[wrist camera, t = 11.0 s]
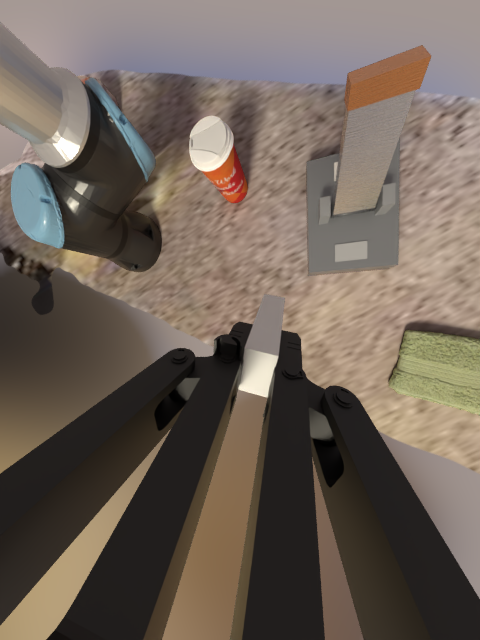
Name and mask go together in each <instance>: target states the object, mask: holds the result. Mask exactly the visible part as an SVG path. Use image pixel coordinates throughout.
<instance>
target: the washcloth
mask: <svg viewBox="0 0 480 640" xmlns="http://www.w3.org/2000/svg"><path fill="white" fill-rule="evenodd" d="M399 354H400V357H399V360H398V364H397V367H396V368H394V370H393V375H392V377H391V378H390V381H389V387H391V388H393V389H394V390H395V391H396V392H397V393H398V394H405V395H407V396H411V397H414V398H421V399H422V400H428V401H431V402H433V403H434V402H435V403H439V404H443V405H446V406H450V407H455V408H458V409H460V410H461V409H463V410H466V411H468V412H470V413H473V414H477V415H479V416H480V339H475V338H470V337H465V336H456V335H453V334H452V335H451V334H449V335H448V334H443V333H434V332H422V331H412V330H409V329H408V330H406V331H405V333H404V337H403V342H402V345H401V349H400V351H399Z"/></svg>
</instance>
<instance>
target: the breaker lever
mask: <svg viewBox="0 0 480 640" xmlns="http://www.w3.org/2000/svg"><path fill="white" fill-rule="evenodd" d="M430 59H431V55H430V54H429V53H428V52H427V50H426V49H425V48H424V47H423V45H421V46H419V47H416V48H413V49H411V50H408V51H406V52H403V53H400V54H397V55H395V56H392V57H389V58H387V59H384V60H381V61H379V62H377V63H373V64H371V65H368V66H365V67H363V68H360V69H357V70H355V71H352V72H349V73H348V75H347V83H346V91H345V98H344V100H345V104H346V108H345V115H344V123H343V130H342V137H341V145H340V152H339V159H338V166H337V174H336V181H335V188H334V196H333V202H332V203H331V218H335V217H341V216H347V215H353V214H359V213H365V212H370V211H375V209H376V207H377V203H378V197H379V194H380V192H381V189H382V186H383V183H384V180H385V177H386V174H387V171H388V169H389V166H390V163H391V160H392V157H393V154H394V151H395V148H396V145H397V143H398V140H399V137H400V134H401V131H402V128H403V125H404V122H405V120H406V117H407V114H408V111H409V108H410V105H411V102H412V99H413V97H414V94H415V91H416V90H417V89H419V88H420V86H421V84H422V81H423V78H424V75H425V72H426V70H427V66H428V64H429V61H430Z"/></svg>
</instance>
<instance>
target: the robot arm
mask: <svg viewBox="0 0 480 640" xmlns="http://www.w3.org/2000/svg"><path fill="white" fill-rule="evenodd" d="M0 124H1V125H3V126H5V127H6V128H8V129H10V130H12V131H13V132H15V133H16V134H18V135H20V136H22V137H23V138H25V139H27V140H28V141H29V142H30V144H31V146H32V148H33V149H34V151H35V153H36V154H37V156H38V157H39V158H40V159H41V160H42V161H43V162H45V164H44V166H43V167H42V168H39V166H37V165H35V164H30V163H22V164H21V165H19V166H17V168H16V169H15V171H14V174H13V177H12V182H11V201H12V207H13V211H14V215H15V217H16V220H17V222H18V224H19V226H20V227H21V229H22V230H23V231H24V233H25V234H26V235H27V236H29V237H30V238H32V239H33V240H35V241H38V242H41V243H45V244H48V245H51V246H54V247H56V248H63V249H67V250H71V251H76V252H80V253H85V254H89V255H94V256H98V257H102V258H107V259H109V260H110V261H112V262H114V263H115V264H117V265H119V266H120V267H122V268H124V269H126V270H129V271H134V272H143V271H146V270H148V269H149V268H151V267H152V266H153V265H154V263H155V262H156V261H157V259H158V256H159V254H160V250H161V236H160V232H159V229H158V227H157V225H156V224H155V223H154V221H153V220H151V219H150V218H148V217H147V216H145V215H143V214H141V213H138V212H132V211H126V208H127V207H128V206H129V204H130V203H131V202H132V200H133V199H134V198H135V196H136V195H137V194H138V192H139V191H140V190H141V188H142V187H143V186H144V184H145V183H146V182H148V178H149V176H150V174H151V173H152V171H153V170H154V168H155V164H156V160H155V156H154V154H153V152H152V151H151V149H150V148H149V147H148V145H147V144H146V143H145V141H144V140H143V139H142V137H141V136H140V135H139V134H138V132H137V131H136V130H135V128H134V127H133V126H132V125H131V123H130V122H129V121H128V120H127V118H126V117H125V116H124V114H123V113H122V112H121V111H120V109H119V108H118V106H117V105H116V104H115V103H114V101H113V100H112V99H111V98H110V96H109V95H108V94H107V93H106V91H105V90H104V89H103V88H102V86H101V85H100V84H99V83H98V81H97V80H96V79H94V78H89V79H88V80H87V81H86V80H85V84H84V83H83V82H82V81H81V80H80V79H79V78H78V77H77V76H76V75H75V74H73V73H72V72H71V71H69V70H68V69H65V68H49V67H48V66H47V65H46V64H45V63H44V62H43V61H42V60H41V59H40V58H38V57H37V56H36V55H35V54H34V53H33V52H32V51H31V50H30V49H29V48H28V47H27V46H26V45H25V44H23V43H22V42H21V41H20V40H19V39H18V38H17V37H16V36H15V35H14V34H13V33H12V32H11V31H9V30H8V29H7V28H6V27H5V26H4V25H3V24H2V23H1V22H0ZM284 302H285V298H283V297H278V296H273V295H267V294H264V296H263V299H262V302H261V305H260V307H259V310H258V313H257V315H256V318H255V321H254V324H248V323H243V322H238V323H236V324H235V325H234V326H233V328H232V330H231V331H230V333H229V334H226V335H221V336H218V337H217V338H216V339H215V340H214V355H213V356H209V357H195V355H194V353H193V352H192V351H191V350H189V349H186V348H178V349H174V350H172V351H170V352H168V353H167V354H165V355H164V356H163V357H161V358H160V359H158V360H157V361H155V362H154V363H153V364H151V365H150V366H149V367H147V368H146V369H144V370H143V371H142V372H140V373H139V374H137V375H136V376H135V377H133V378H132V379H131V380H130V381H128V382H127V383H125V384H124V385H122V386H121V387H119V388H118V389H117V390H115V391H114V392H113V393H112V394H110V395H108V396H107V397H106V398H104V399H103V400H102V401H100V402H99V403H97V404H96V405H95V406H93V407H92V408H90V409H89V410H88V411H86V412H85V413H84V414H82V415H81V416H79V417H78V418H77V419H75V420H74V421H73V422H71V423H70V424H68V425H67V426H66V427H64V428H63V429H61V430H60V431H59V432H57V433H56V434H54V435H53V436H52V437H50V438H49V439H48V440H46V441H45V442H44V443H42V444H41V445H39V446H38V447H37V448H35V449H34V450H32V451H31V452H30V453H28V454H27V455H25V456H24V457H23V458H21V459H20V460H19V461H17V462H16V463H14V464H13V465H12V466H10V467H9V468H8V469H6V470H5V471H3V472H2V473H1V474H0V625H1V624H2V623H3V622H4V621H5V619H6V618H7V617H8V616H9V615H10V614H11V613H12V611H13V610H14V609H15V608H16V607H17V606H18V604H19V603H20V602H21V601H22V600H23V598H25V596H26V595H27V594H28V593H29V592H30V591H31V589H32V588H33V587H34V586H35V585H36V584H37V582H38V581H39V580H40V579H41V578H42V577H43V575H44V574H45V573H46V572H47V571H48V570H49V569H50V567H51V566H52V565H53V564H54V563H55V562H56V561H57V559H58V558H59V557H60V556H61V555H62V553H63V552H64V551H65V550H66V549H67V548H68V547H69V546H70V544H71V543H72V542H73V541H74V540H75V539H76V537H77V536H78V535H79V534H80V533H81V532H82V531H83V529H84V528H85V527H86V526H87V525H88V524H89V522H90V521H91V520H92V519H93V518H94V517H95V515H96V514H97V513H98V512H99V511H100V510H101V508H102V507H103V506H104V505H105V504H106V503H107V502H108V501H109V499H110V498H111V497H112V496H113V495H114V493H115V492H116V491H117V490H118V489H119V488H120V487H121V486H122V484H123V483H124V482H125V481H126V480H127V478H128V477H129V476H130V475H131V474H132V473H133V472H134V470H135V469H136V468H137V467H138V466H139V465H140V464H141V462H142V461H143V460H144V459H145V458H146V457H147V456H148V454H149V453H150V452H151V451H152V450H153V449H154V447H155V446H156V445H157V444H158V443H159V442H160V440H161V439H162V438H163V437H164V436H165V435H166V434H167V432H168V431H169V430H170V429H171V428H172V429H171V431H170V432H169V434H168V436H167V438H166V440H165V441H164V443H163V445H162V446H161V448H160V450H159V452H158V454H157V455H156V457H155V459H154V461H153V462H152V464H151V466H150V468H149V469H148V471H147V473H146V475H145V476H144V478H143V480H142V482H141V484H140V485H139V487H138V489H137V491H136V492H135V494H134V496H133V498H132V500H131V501H130V503H129V505H128V507H127V508H126V510H125V512H124V514H123V515H122V517H121V519H120V521H119V522H118V524H117V526H116V528H115V530H114V531H113V533H112V535H111V537H110V539H109V540H108V542H107V544H106V545H105V547H104V549H103V551H102V552H101V554H100V556H99V558H98V560H97V561H96V563H95V565H94V567H93V568H92V570H91V572H90V574H89V576H88V577H87V579H86V581H85V583H84V584H83V586H82V588H81V590H80V591H79V593H78V595H77V597H76V599H75V600H74V602H73V604H72V605H71V607H70V609H69V610H68V612H67V613H66V615H65V617H64V618H63V620H62V621H61V622H60V624H59V625H58V627H57V628H56V629H55V631H54V632H53V633H52V634H51V635H50V636H49V637H48V638H47V639H46V640H162V637H163V634H164V630H165V627H166V624H167V621H168V618H169V615H170V611H171V608H172V605H173V602H174V598H175V595H176V592H177V589H178V585H179V582H180V579H181V576H182V572H183V569H184V566H185V563H186V559H187V556H188V553H189V550H190V547H191V543H192V540H193V537H194V533H195V531H196V527H197V524H198V521H199V518H200V514H201V511H202V508H203V505H204V501H205V498H206V495H207V492H208V488H209V485H210V482H211V479H212V476H213V472H214V469H215V466H216V462H217V459H218V456H219V453H220V450H221V446H222V443H223V440H224V437H225V433H226V430H227V427H228V424H229V420H230V417H231V414H232V411H233V408H234V404H235V401H236V396H237V391H238V388H239V390H242V391H246V392H249V393H253V394H256V395H260V396H264V397H268V399H267V403H266V407H265V411H264V414H263V417H264V419H263V426H262V433H261V440H260V446H259V453H258V459H257V465H256V472H255V479H254V485H253V492H252V498H251V505H250V511H249V518H248V525H247V531H246V537H245V544H244V550H243V558H242V564H241V571H240V577H239V583H238V590H237V596H236V603H235V610H234V616H233V622H232V630H231V636H230V640H325V636H324V622H323V607H322V593H321V579H320V564H319V550H318V536H317V522H316V507H315V493H314V479H313V464H312V457H313V461H314V465H315V468H316V472H317V475H318V479H319V482H320V486H321V489H322V493H323V496H324V500H325V503H326V507H327V510H328V514H329V518H330V521H331V525H332V528H333V532H334V535H335V539H336V543H337V546H338V550H339V553H340V557H341V560H342V564H343V567H344V571H345V575H346V578H347V582H348V585H349V589H350V592H351V596H352V599H353V603H354V607H355V610H356V613H357V617H358V621H359V624H360V628H361V631H362V635H363V638H364V640H480V599H479V597H478V596H477V594H476V592H475V591H474V589H473V587H472V586H471V584H470V583H469V581H468V579H467V577H466V576H465V574H464V573H463V571H462V569H461V568H460V566H459V564H458V563H457V561H456V559H455V558H454V556H453V554H452V553H451V551H450V549H449V548H448V546H447V544H446V543H445V541H444V539H443V538H442V536H441V535H440V533H439V531H438V530H437V528H436V526H435V525H434V523H433V521H432V520H431V518H430V516H429V515H428V513H427V511H426V510H425V509H424V506H423V505H422V503H421V502H420V500H419V498H418V497H417V495H416V493H415V492H414V490H413V489H412V487H411V485H410V483H409V482H408V480H407V478H406V477H405V475H404V473H403V472H402V470H401V469H400V467H399V465H398V464H397V462H396V460H395V459H394V457H393V456H392V454H391V452H390V451H389V449H388V447H387V445H386V444H385V442H384V440H383V439H382V437H381V436H380V434H379V432H378V431H377V429H376V427H375V426H374V424H373V422H372V421H371V419H370V417H369V416H368V414H367V412H366V411H365V409H364V407H363V406H362V404H361V402H360V401H359V400H358V398H357V397H356V396H355V395H354V394H353V393H352V392H350V391H349V390H347V389H345V388H343V387H340V386H329V387H328V388H326V390H325V389H323V388H321V387H319V386H317V385H316V384H314V383H312V382H311V381H310V380H308V379H307V377H306V374H305V372H304V371H303V370H302V354H301V339H300V337H299V336H298V334H297V333H292V332H288V331H283V330H282V321H283V312H284Z"/></svg>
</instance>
